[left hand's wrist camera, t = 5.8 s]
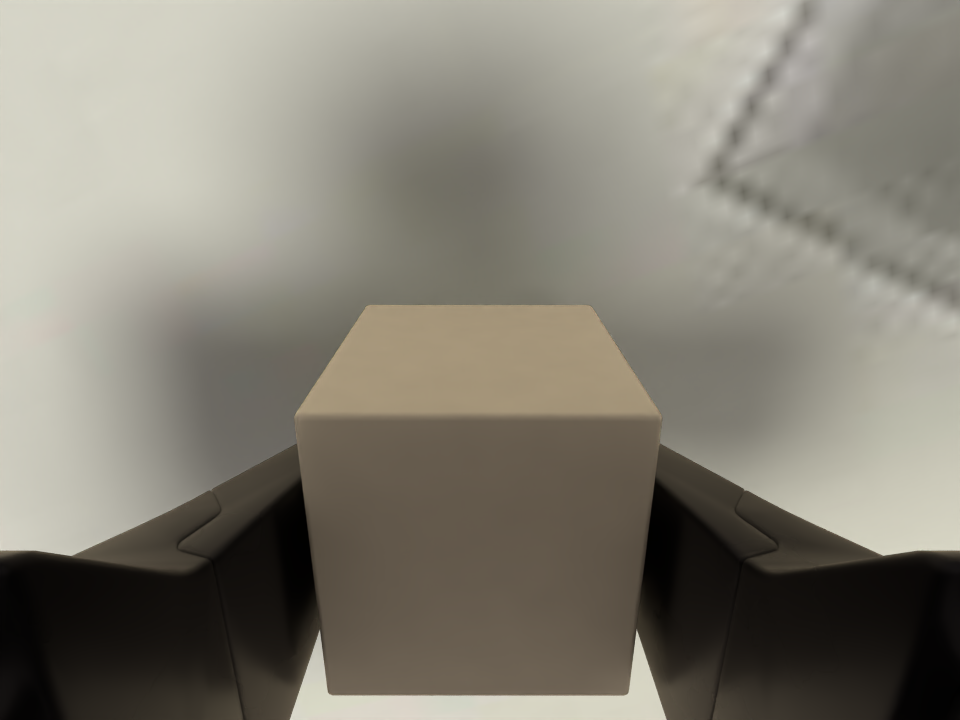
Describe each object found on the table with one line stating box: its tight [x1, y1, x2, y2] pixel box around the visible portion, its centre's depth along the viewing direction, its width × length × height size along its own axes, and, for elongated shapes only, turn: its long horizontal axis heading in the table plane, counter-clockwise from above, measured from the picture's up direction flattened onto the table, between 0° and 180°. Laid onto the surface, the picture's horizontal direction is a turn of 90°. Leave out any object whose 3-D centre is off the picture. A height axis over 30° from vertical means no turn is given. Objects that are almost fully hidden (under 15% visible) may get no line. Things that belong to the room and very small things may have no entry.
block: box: [294, 305, 662, 695], centre depth 10 cm, size 4×5×5 cm
